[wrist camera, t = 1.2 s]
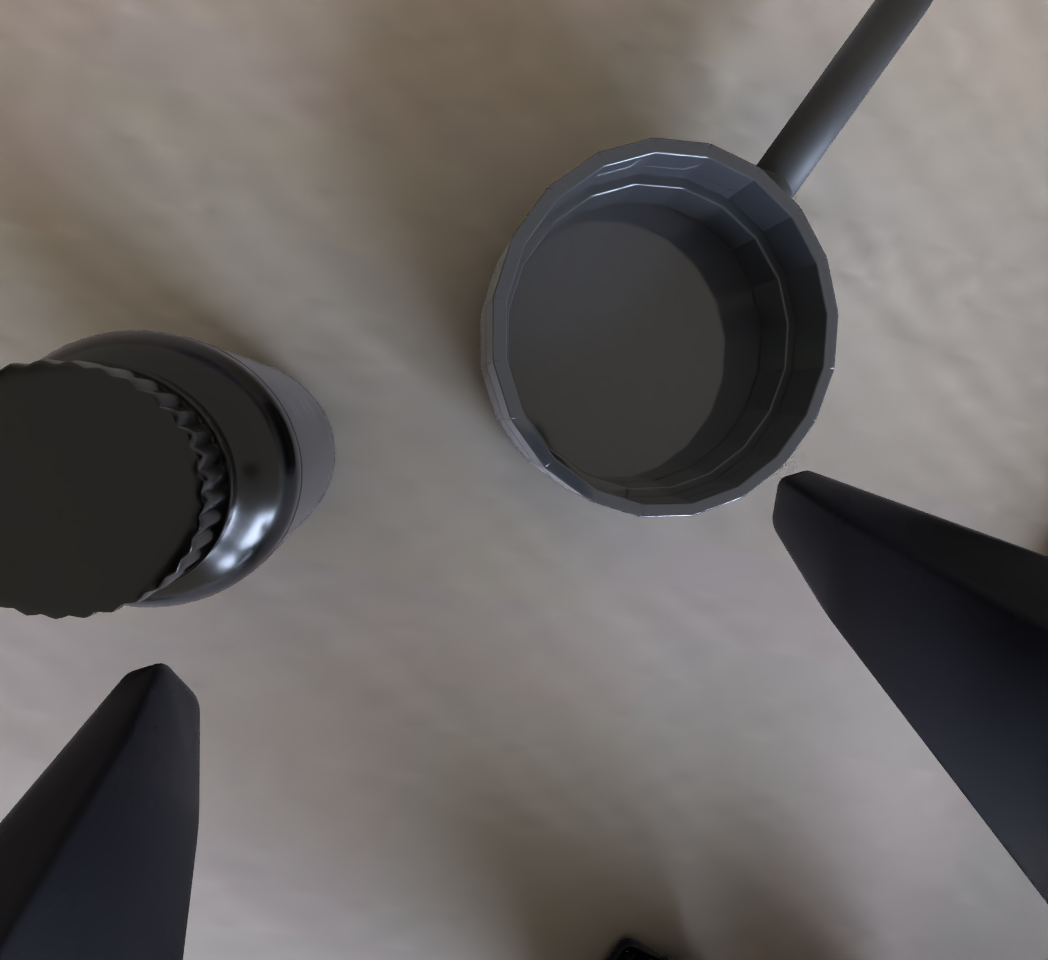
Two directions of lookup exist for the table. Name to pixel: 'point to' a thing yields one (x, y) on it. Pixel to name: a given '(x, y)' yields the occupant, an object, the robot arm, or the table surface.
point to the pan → (660, 329)
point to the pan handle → (840, 91)
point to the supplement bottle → (149, 472)
